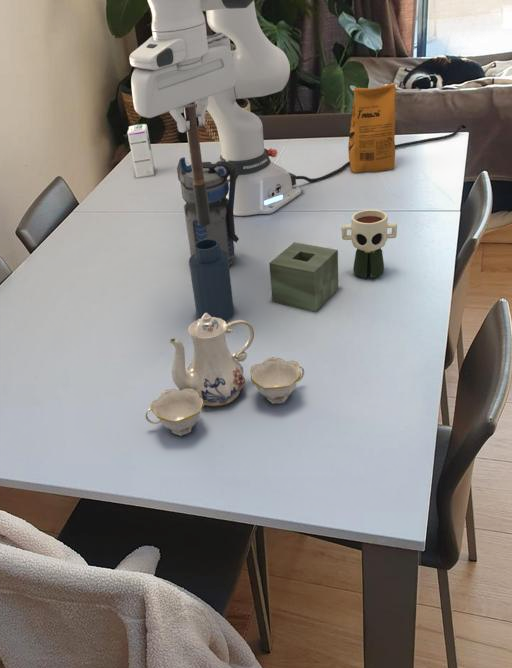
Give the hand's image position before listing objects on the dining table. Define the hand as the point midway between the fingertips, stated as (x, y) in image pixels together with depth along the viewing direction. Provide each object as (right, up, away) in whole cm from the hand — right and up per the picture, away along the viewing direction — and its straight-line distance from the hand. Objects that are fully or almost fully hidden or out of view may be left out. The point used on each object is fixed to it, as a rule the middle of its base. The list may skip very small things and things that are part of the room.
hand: (191, 128), depth 125 cm
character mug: (+38, -22, +27) cm, 52 cm away
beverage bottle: (+7, -18, +40) cm, 45 cm away
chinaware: (+5, -48, -2) cm, 48 cm away
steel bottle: (+6, -31, +22) cm, 39 cm away
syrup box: (-12, +18, +97) cm, 99 cm away
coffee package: (+53, +14, +75) cm, 93 cm away
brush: (+3, -15, +10) cm, 18 cm away
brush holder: (+24, -27, +23) cm, 43 cm away
